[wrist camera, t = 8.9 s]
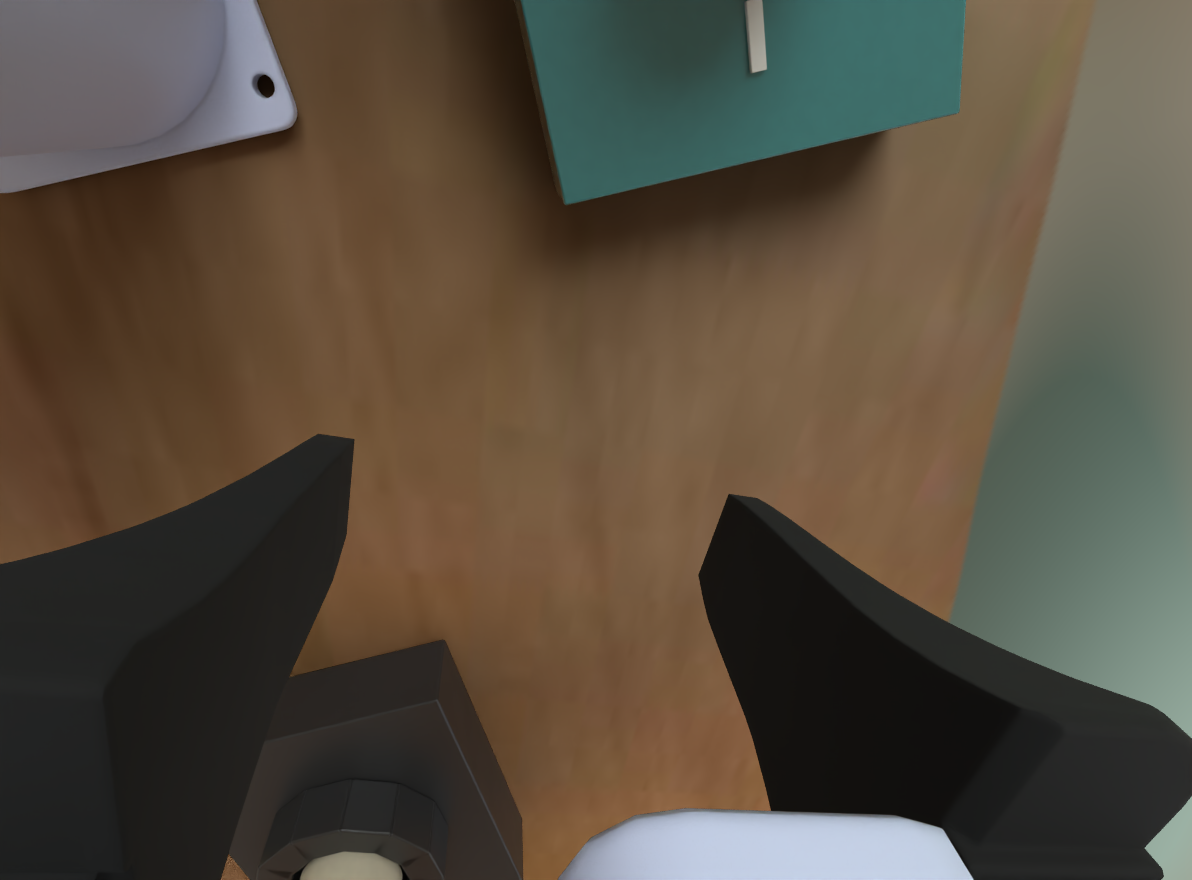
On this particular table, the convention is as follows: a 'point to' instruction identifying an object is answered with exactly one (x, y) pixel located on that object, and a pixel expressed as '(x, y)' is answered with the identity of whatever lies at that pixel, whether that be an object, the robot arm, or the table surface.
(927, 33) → the dial panel
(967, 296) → the table surface
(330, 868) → the push button
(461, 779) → the button base
